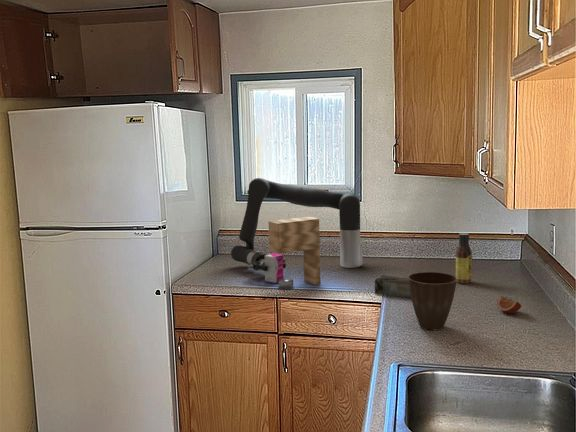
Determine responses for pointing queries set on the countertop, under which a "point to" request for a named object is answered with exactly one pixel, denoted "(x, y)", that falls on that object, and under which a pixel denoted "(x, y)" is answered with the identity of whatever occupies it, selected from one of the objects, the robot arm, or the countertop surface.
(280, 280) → the dark gray cylinder
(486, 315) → the countertop surface
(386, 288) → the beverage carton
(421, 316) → the plant pot
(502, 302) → the fruit slice
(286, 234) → the wooden l-shaped block
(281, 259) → the supplement box
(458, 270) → the sauce bottle
